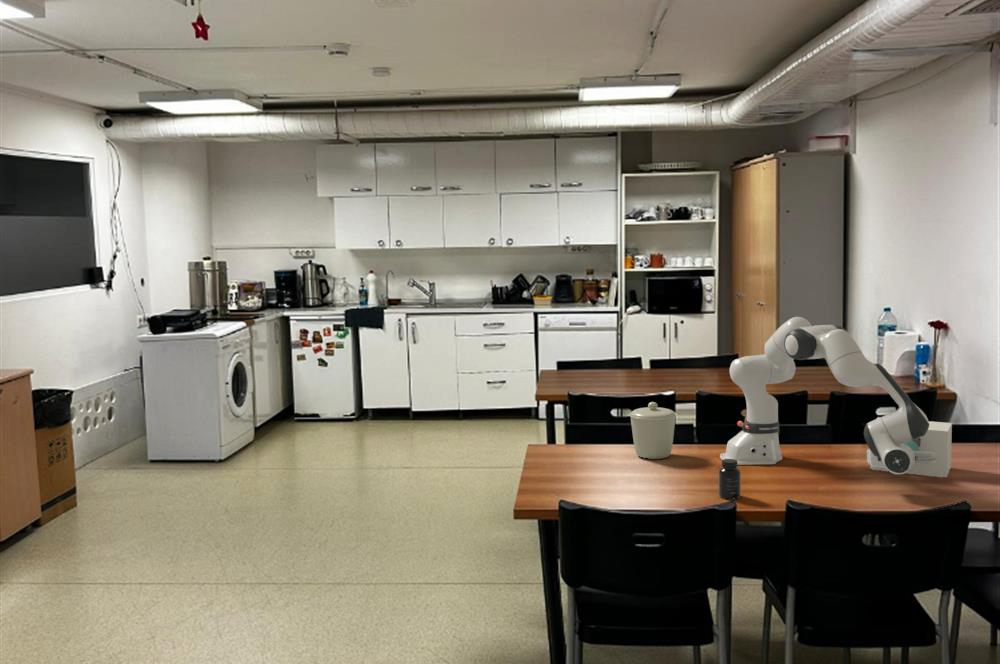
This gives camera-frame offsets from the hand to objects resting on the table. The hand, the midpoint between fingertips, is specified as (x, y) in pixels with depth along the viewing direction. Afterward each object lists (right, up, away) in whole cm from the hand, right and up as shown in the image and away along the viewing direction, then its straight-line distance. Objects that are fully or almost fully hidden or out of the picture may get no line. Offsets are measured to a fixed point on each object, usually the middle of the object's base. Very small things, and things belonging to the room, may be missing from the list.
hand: (901, 455), depth 287 cm
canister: (-73, -7, +49) cm, 88 cm away
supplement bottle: (-57, -13, -4) cm, 59 cm away
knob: (+9, -4, +15) cm, 18 cm away
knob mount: (+13, -8, +21) cm, 26 cm away
